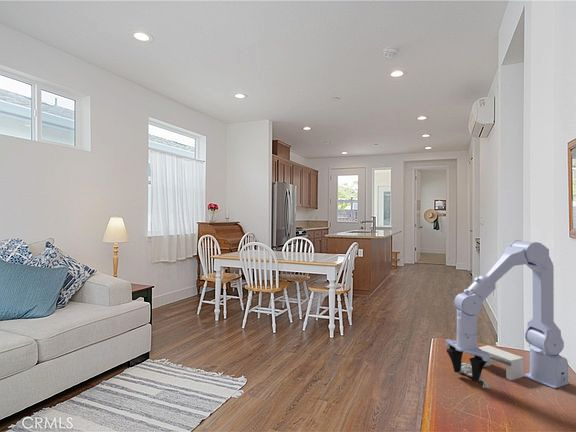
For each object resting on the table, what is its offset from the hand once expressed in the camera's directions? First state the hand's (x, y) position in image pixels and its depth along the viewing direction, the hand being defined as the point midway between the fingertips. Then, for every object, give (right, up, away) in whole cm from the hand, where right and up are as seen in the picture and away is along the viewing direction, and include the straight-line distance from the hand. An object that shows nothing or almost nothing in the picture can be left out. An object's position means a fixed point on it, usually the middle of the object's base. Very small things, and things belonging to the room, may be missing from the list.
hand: (466, 375), depth 116 cm
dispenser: (+14, -1, +7) cm, 16 cm away
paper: (+3, -2, +2) cm, 4 cm away
